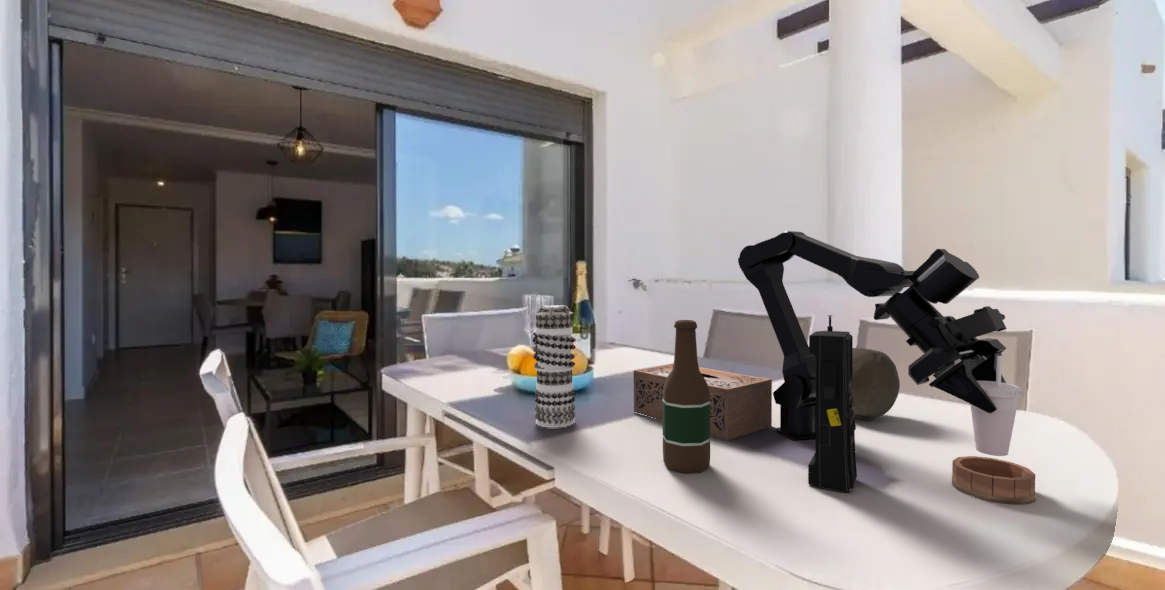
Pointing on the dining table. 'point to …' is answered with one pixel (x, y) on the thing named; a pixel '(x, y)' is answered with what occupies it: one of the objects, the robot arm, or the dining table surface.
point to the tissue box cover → (713, 399)
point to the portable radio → (833, 412)
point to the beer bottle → (686, 407)
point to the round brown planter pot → (993, 480)
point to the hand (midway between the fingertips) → (1003, 408)
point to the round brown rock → (873, 383)
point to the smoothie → (996, 416)
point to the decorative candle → (554, 366)
